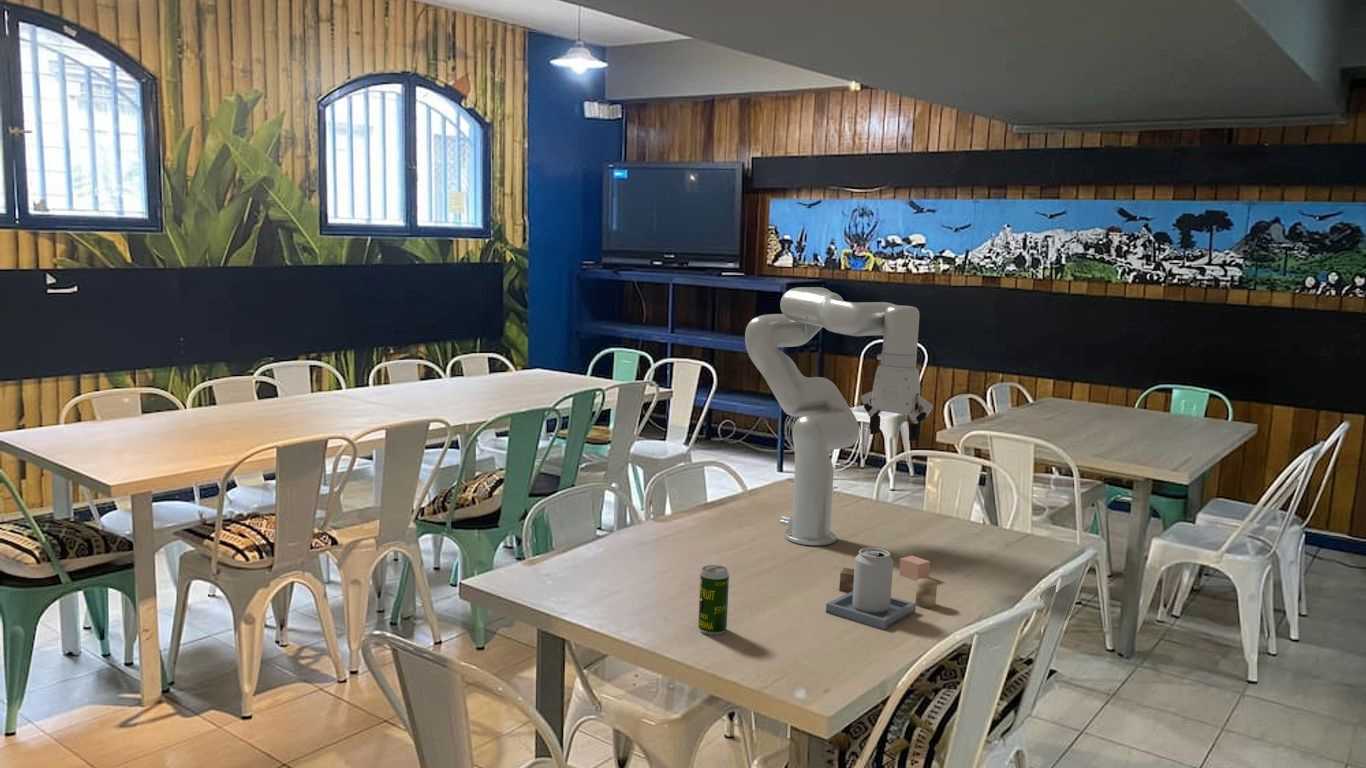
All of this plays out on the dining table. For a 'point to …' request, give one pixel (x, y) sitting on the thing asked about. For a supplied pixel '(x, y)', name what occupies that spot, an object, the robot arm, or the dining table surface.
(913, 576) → the terracotta block
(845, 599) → the tray
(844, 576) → the walnut block
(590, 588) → the dining table surface
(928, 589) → the cork cylinder
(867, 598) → the can
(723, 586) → the green drink can
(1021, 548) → the dining table surface
